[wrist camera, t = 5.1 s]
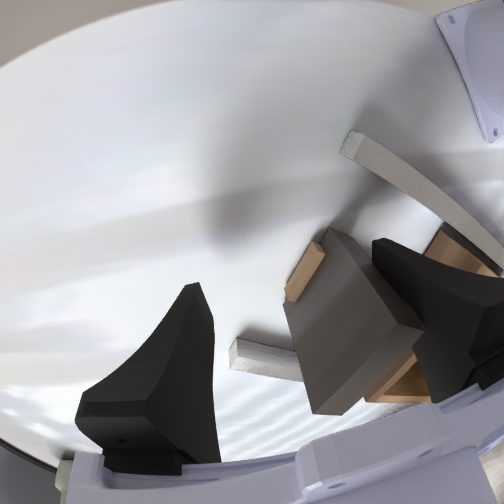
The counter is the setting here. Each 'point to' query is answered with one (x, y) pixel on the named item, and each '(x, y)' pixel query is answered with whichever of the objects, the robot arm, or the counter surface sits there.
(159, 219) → the counter surface
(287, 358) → the lane rails
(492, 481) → the ceramic pitcher
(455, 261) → the wooden tray
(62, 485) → the air freshener
